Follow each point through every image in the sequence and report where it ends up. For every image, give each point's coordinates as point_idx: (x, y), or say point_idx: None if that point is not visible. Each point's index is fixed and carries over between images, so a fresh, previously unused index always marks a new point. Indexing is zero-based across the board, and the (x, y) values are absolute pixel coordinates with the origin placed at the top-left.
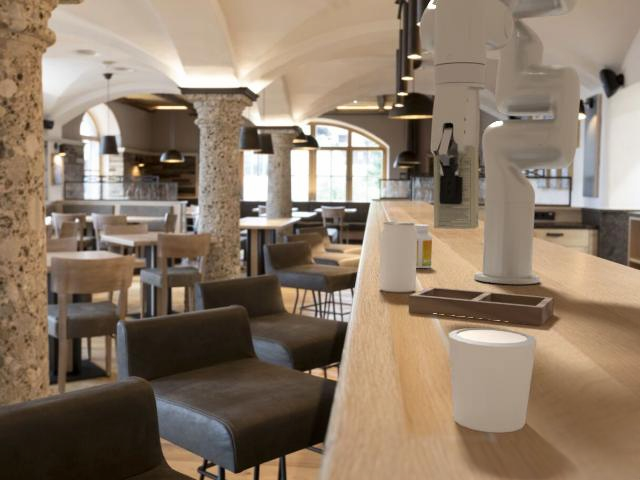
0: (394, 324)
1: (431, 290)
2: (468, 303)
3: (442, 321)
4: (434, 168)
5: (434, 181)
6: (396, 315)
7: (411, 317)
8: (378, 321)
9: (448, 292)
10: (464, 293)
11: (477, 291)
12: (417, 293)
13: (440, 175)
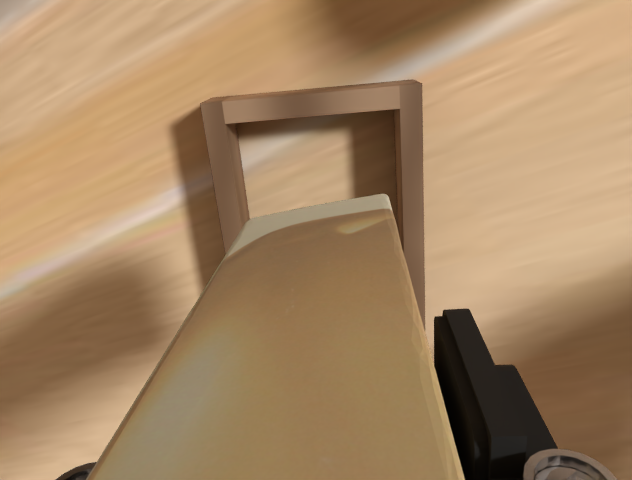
0: (37, 141)
1: (365, 111)
2: None
3: (159, 223)
4: (107, 448)
5: (161, 359)
6: (145, 89)
7: (150, 137)
8: (36, 88)
9: (400, 156)
10: (401, 207)
11: (412, 246)
12: (253, 109)
13: (72, 471)
